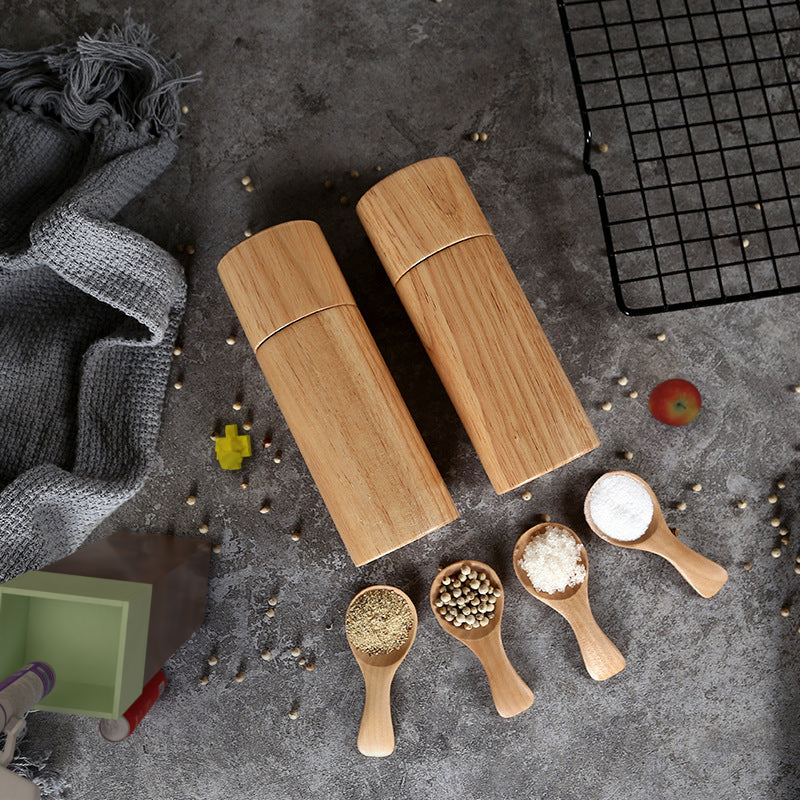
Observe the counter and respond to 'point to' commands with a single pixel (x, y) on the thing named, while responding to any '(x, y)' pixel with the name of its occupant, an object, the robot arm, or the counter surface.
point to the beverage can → (133, 711)
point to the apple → (675, 402)
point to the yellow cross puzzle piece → (232, 448)
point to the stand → (152, 582)
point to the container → (25, 690)
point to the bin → (77, 639)
